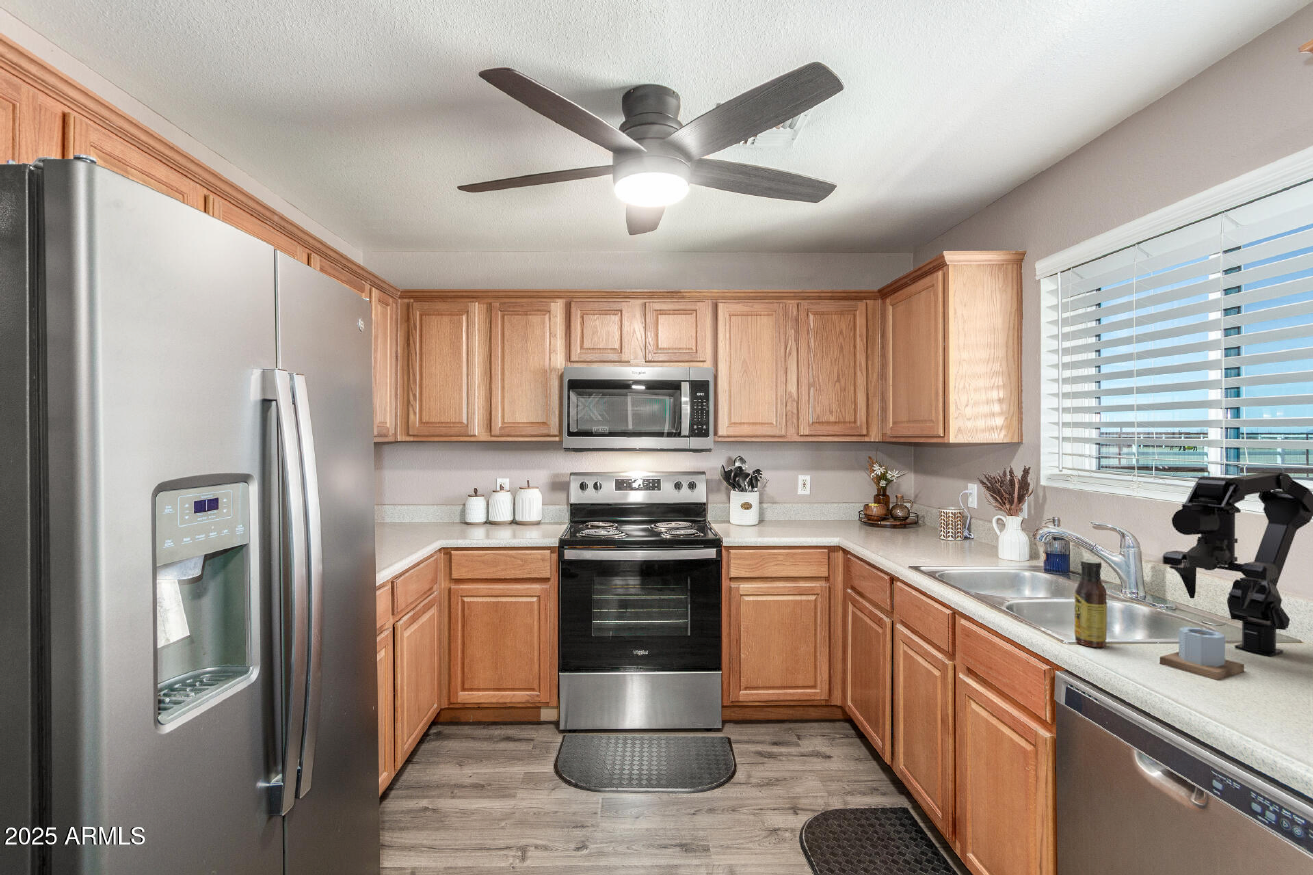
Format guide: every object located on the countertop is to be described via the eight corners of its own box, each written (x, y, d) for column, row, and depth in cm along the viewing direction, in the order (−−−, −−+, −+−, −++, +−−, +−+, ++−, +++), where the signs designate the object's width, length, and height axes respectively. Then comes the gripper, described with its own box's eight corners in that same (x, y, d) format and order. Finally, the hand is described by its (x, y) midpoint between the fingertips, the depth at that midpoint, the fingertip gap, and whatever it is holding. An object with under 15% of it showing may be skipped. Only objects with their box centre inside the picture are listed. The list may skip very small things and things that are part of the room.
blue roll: (1190, 652, 139) (1191, 625, 139) (1229, 663, 133) (1230, 634, 133) (1173, 657, 136) (1173, 629, 136) (1212, 668, 130) (1213, 639, 130)
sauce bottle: (1076, 638, 153) (1076, 556, 153) (1107, 643, 149) (1108, 559, 149) (1072, 644, 148) (1073, 560, 148) (1105, 650, 144) (1105, 564, 144)
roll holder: (1187, 656, 141) (1187, 622, 141) (1243, 671, 132) (1244, 635, 132) (1159, 663, 137) (1160, 628, 136) (1216, 679, 128) (1217, 642, 127)
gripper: (1149, 529, 146) (1148, 597, 146) (1253, 542, 129) (1252, 618, 129) (1176, 526, 151) (1175, 592, 151) (1279, 538, 134) (1278, 612, 134)
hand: (1216, 603), depth 141 cm, fingers open, 9 cm apart
